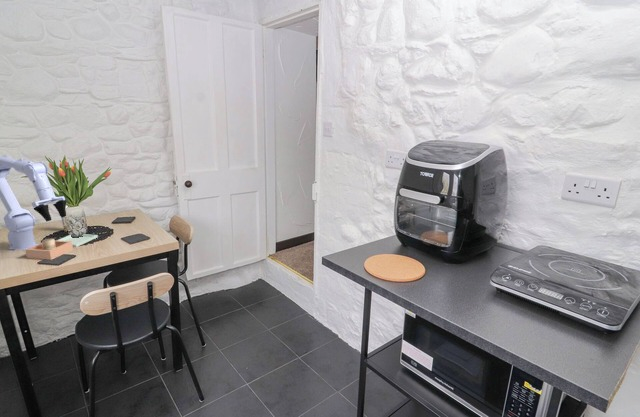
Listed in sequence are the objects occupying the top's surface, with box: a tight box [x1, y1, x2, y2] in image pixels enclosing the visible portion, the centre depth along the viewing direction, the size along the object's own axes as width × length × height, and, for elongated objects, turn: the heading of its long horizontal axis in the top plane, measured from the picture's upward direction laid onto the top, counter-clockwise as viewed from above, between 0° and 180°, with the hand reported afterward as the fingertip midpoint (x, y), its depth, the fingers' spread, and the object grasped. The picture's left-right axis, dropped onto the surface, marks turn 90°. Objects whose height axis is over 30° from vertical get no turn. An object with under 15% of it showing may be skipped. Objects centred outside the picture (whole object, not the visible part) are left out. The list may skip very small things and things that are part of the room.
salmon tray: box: [24, 239, 74, 261], centre depth 159 cm, size 12×12×4 cm
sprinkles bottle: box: [61, 205, 69, 232], centre depth 190 cm, size 5×5×13 cm
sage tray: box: [56, 233, 99, 248], centre depth 175 cm, size 14×14×2 cm
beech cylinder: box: [41, 237, 56, 250], centre depth 159 cm, size 5×5×6 cm
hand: (56, 218), depth 156 cm, fingers open, 7 cm apart
